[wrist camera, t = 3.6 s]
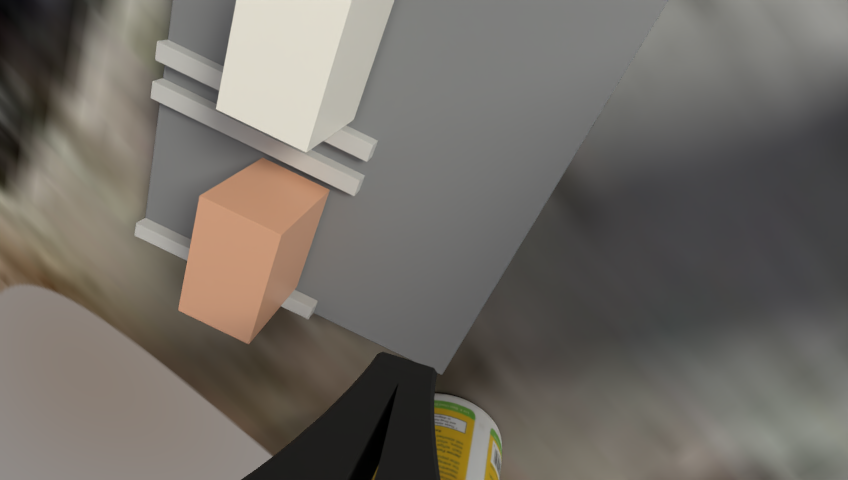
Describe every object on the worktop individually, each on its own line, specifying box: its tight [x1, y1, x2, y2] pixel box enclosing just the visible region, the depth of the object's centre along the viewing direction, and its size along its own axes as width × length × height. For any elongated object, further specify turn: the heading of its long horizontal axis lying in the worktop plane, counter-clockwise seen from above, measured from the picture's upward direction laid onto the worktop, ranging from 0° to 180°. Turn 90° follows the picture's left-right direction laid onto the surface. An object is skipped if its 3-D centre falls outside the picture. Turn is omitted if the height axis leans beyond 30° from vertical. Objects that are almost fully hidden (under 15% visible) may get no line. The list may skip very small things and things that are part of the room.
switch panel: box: [135, 0, 668, 375], centre depth 14 cm, size 13×22×4 cm, turn 157°
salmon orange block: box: [178, 158, 330, 344], centre depth 16 cm, size 2×4×4 cm, turn 157°
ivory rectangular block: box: [216, 0, 394, 152], centre depth 13 cm, size 2×4×4 cm, turn 157°
